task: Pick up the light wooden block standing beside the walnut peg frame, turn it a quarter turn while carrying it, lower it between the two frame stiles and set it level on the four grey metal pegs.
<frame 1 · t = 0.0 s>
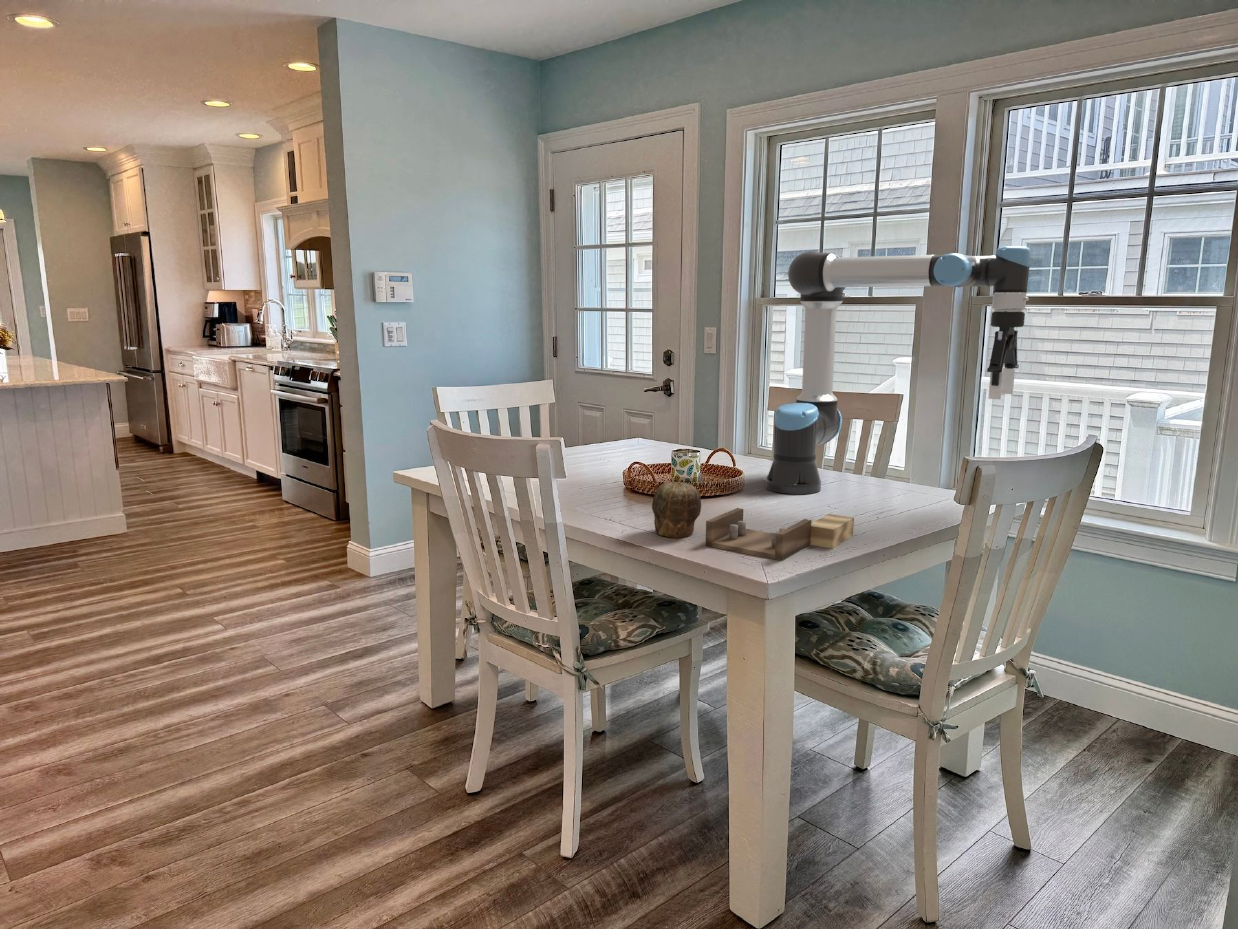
hand: (1000, 396, 210), 28 cm above the table, fingers open, 13 cm apart
peg frame: (758, 545, 180), on the table
light wooden block: (830, 541, 184), on the table
brown ribbed rounded piece: (676, 534, 189), on the table
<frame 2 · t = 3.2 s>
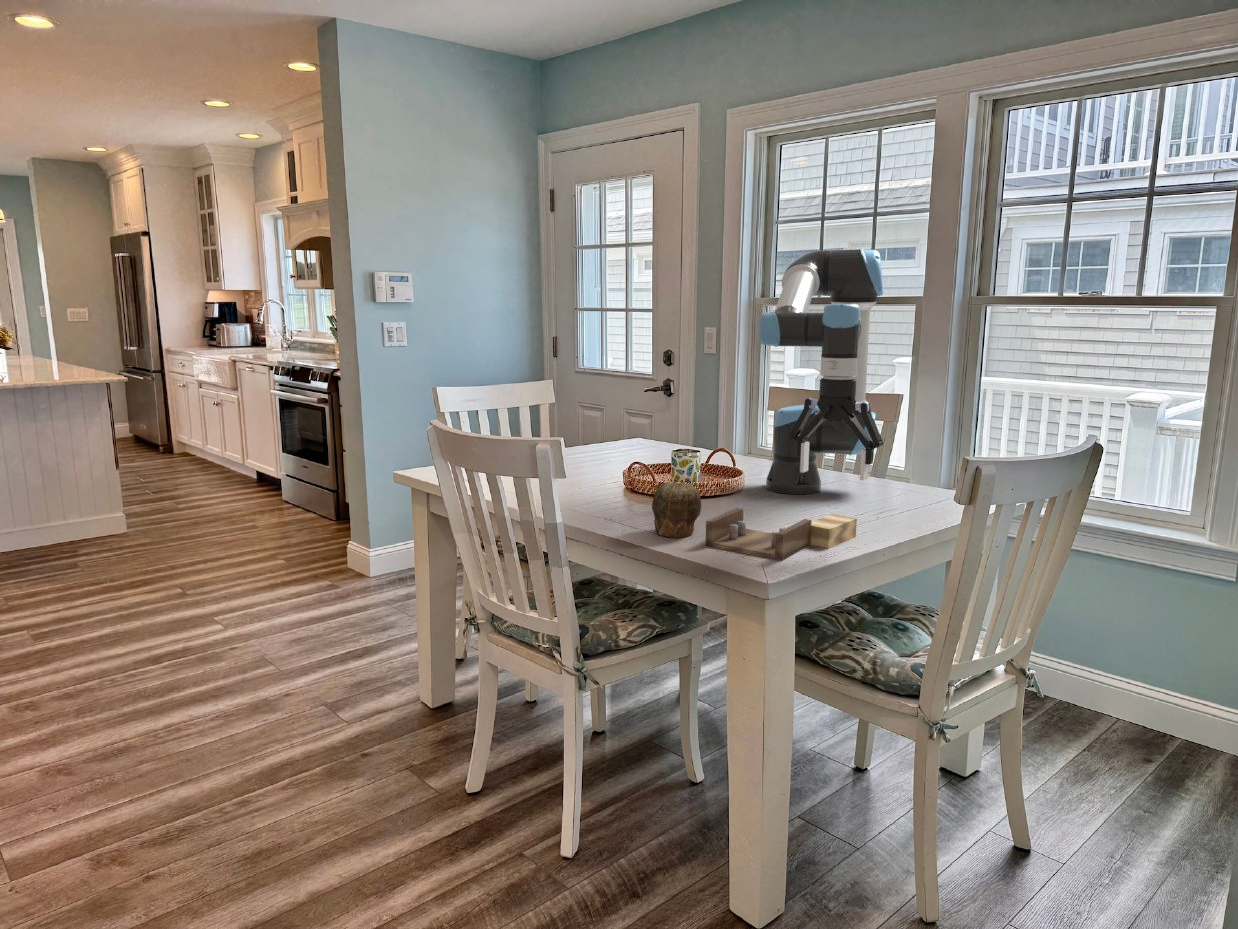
hand: (833, 475, 181), 15 cm above the table, fingers open, 13 cm apart
nothing on the table moved.
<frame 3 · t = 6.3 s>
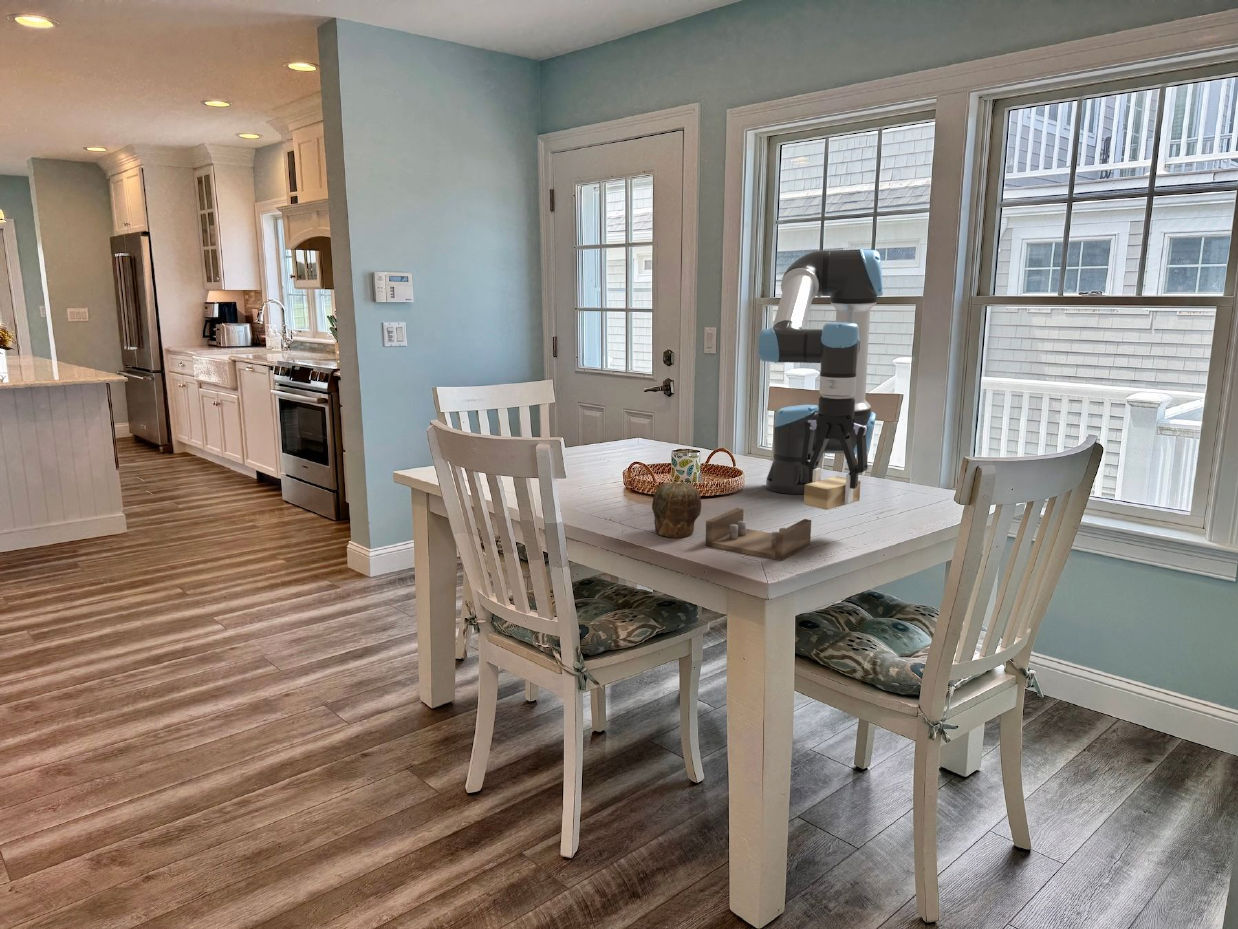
hand: (832, 499, 183), 9 cm above the table, fingers closed on light wooden block, 7 cm apart
light wooden block: (831, 502, 183), point 8 cm above the table, touching gripper
everything else where it was.
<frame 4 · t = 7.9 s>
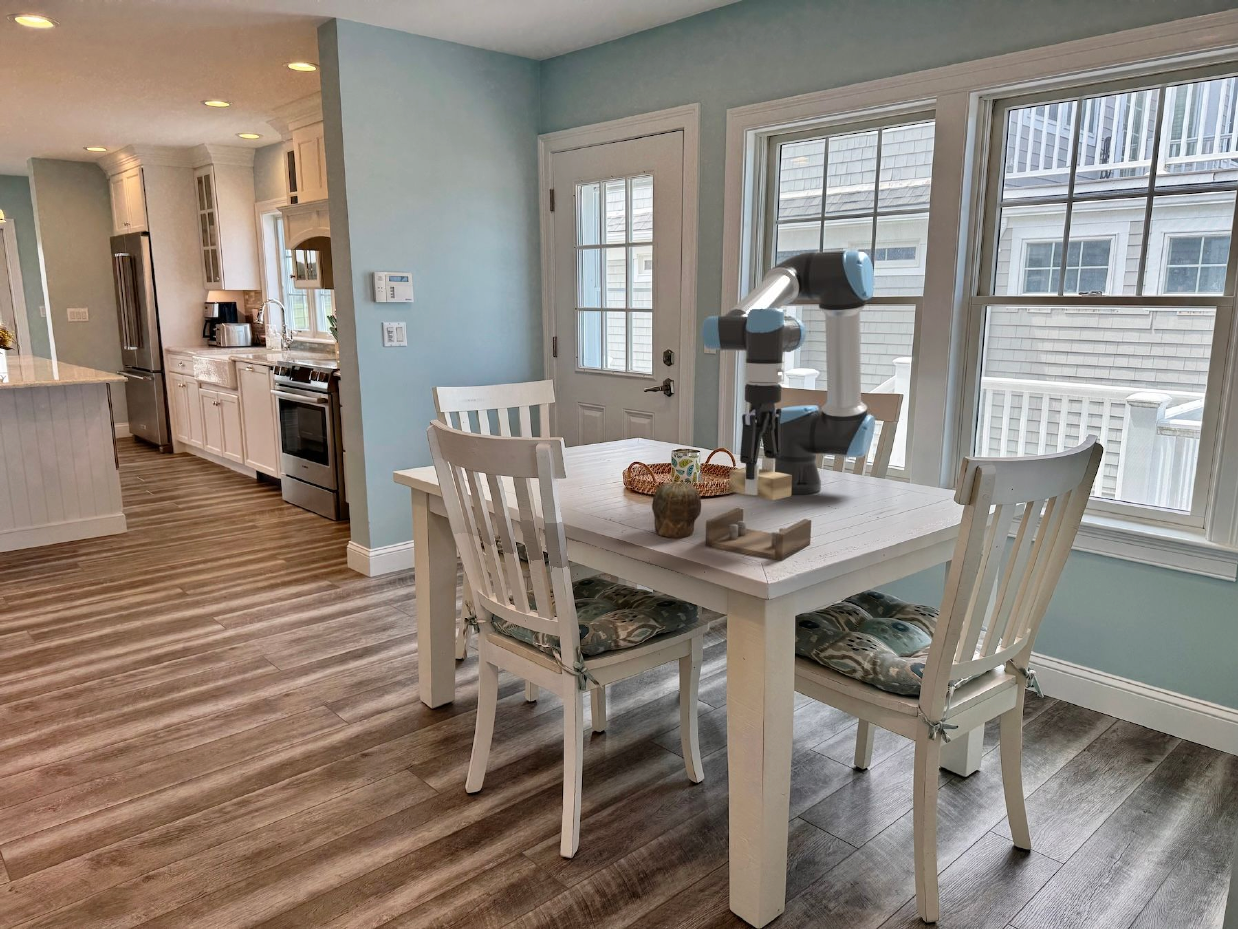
hand: (759, 490, 178), 12 cm above the table, fingers closed on light wooden block, 7 cm apart
light wooden block: (759, 493, 178), point 12 cm above the table, touching gripper
everything else where it was.
when the fingers open (4 cm above the table, at t = 9.6 s): light wooden block stays where it is, resting on peg frame.
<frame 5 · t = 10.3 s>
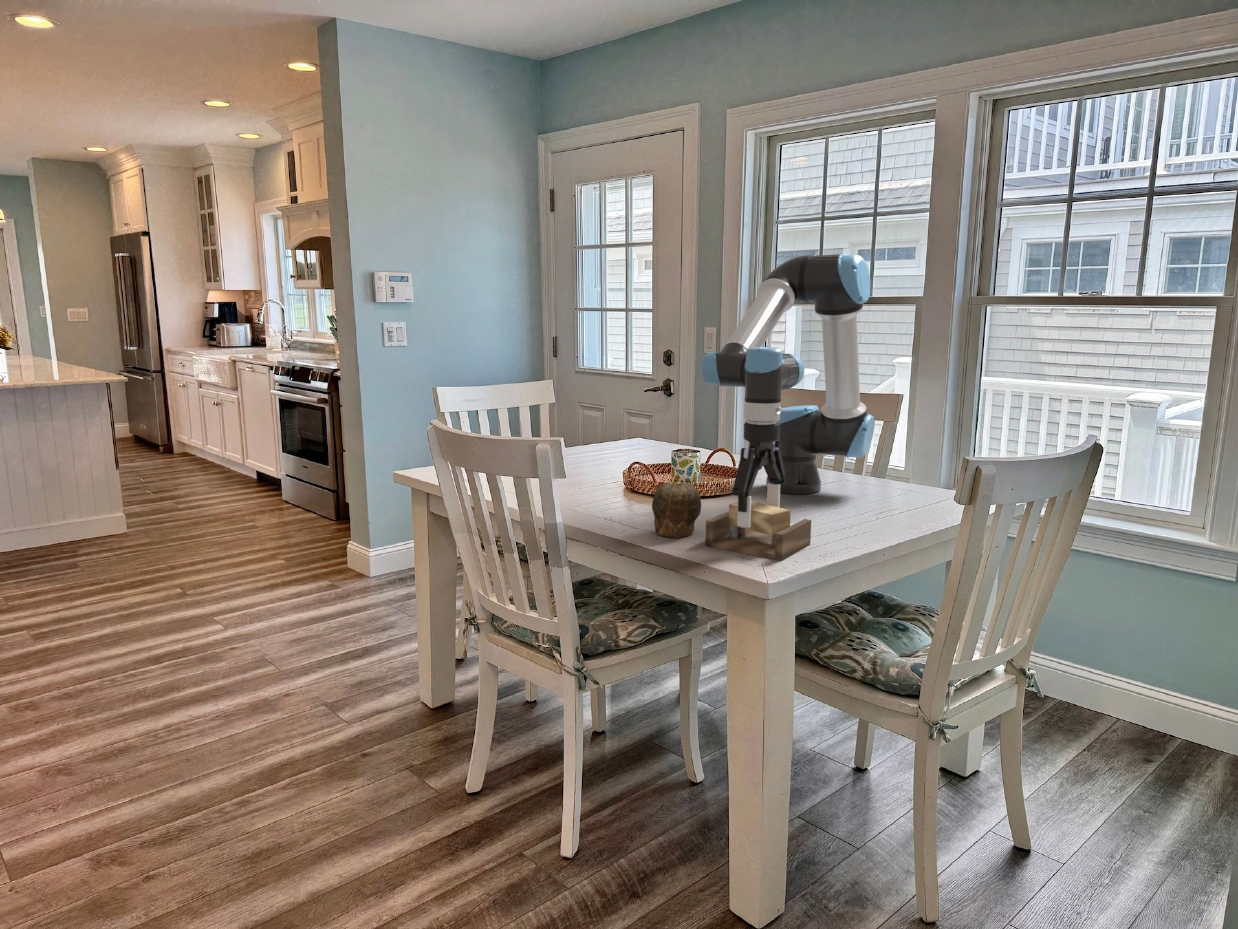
hand: (758, 519, 179), 6 cm above the table, fingers open, 13 cm apart
light wooden block: (758, 527, 179), point 4 cm above the table, touching peg frame
everything else where it was.
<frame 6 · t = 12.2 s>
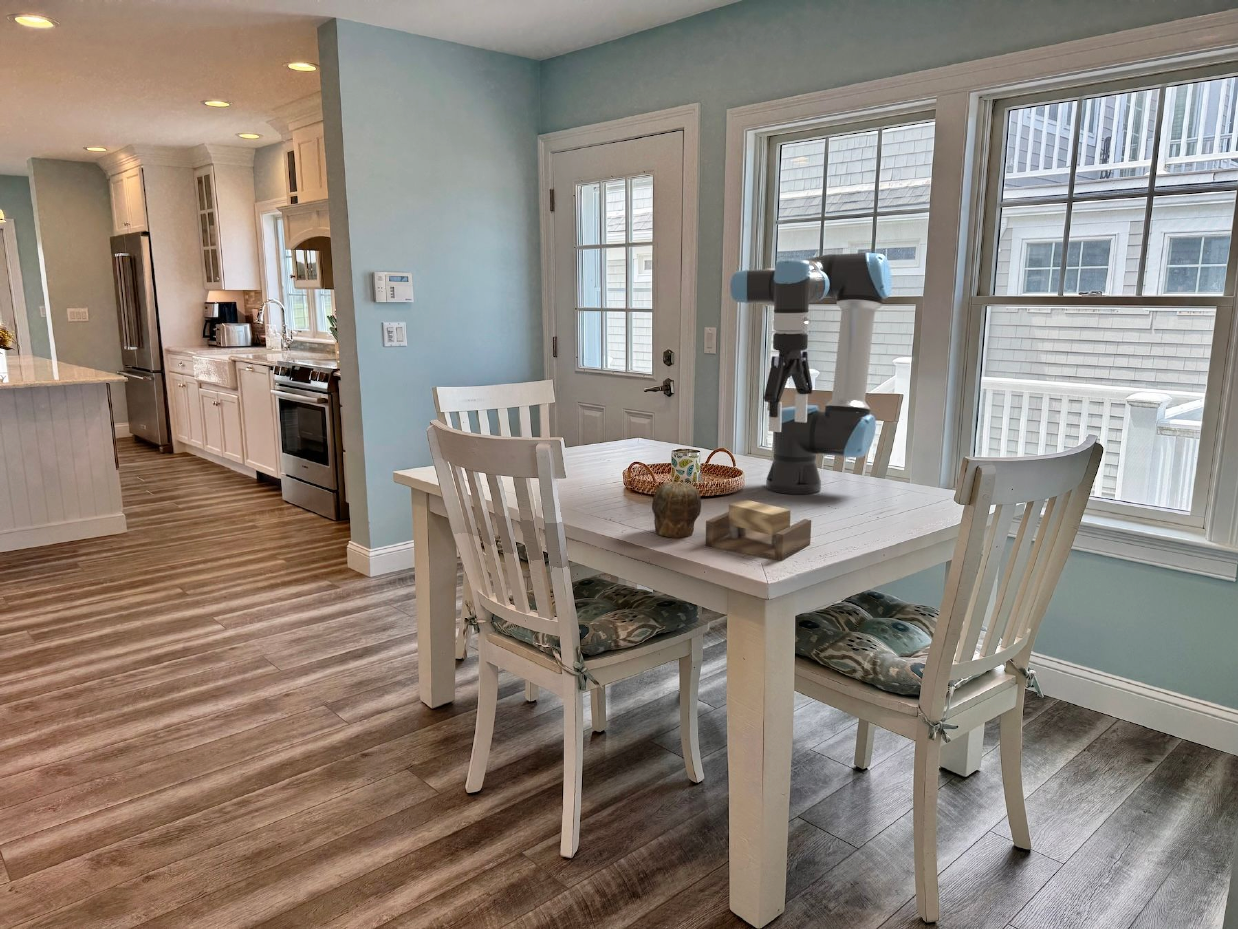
hand: (788, 426, 189), 24 cm above the table, fingers open, 13 cm apart
nothing on the table moved.
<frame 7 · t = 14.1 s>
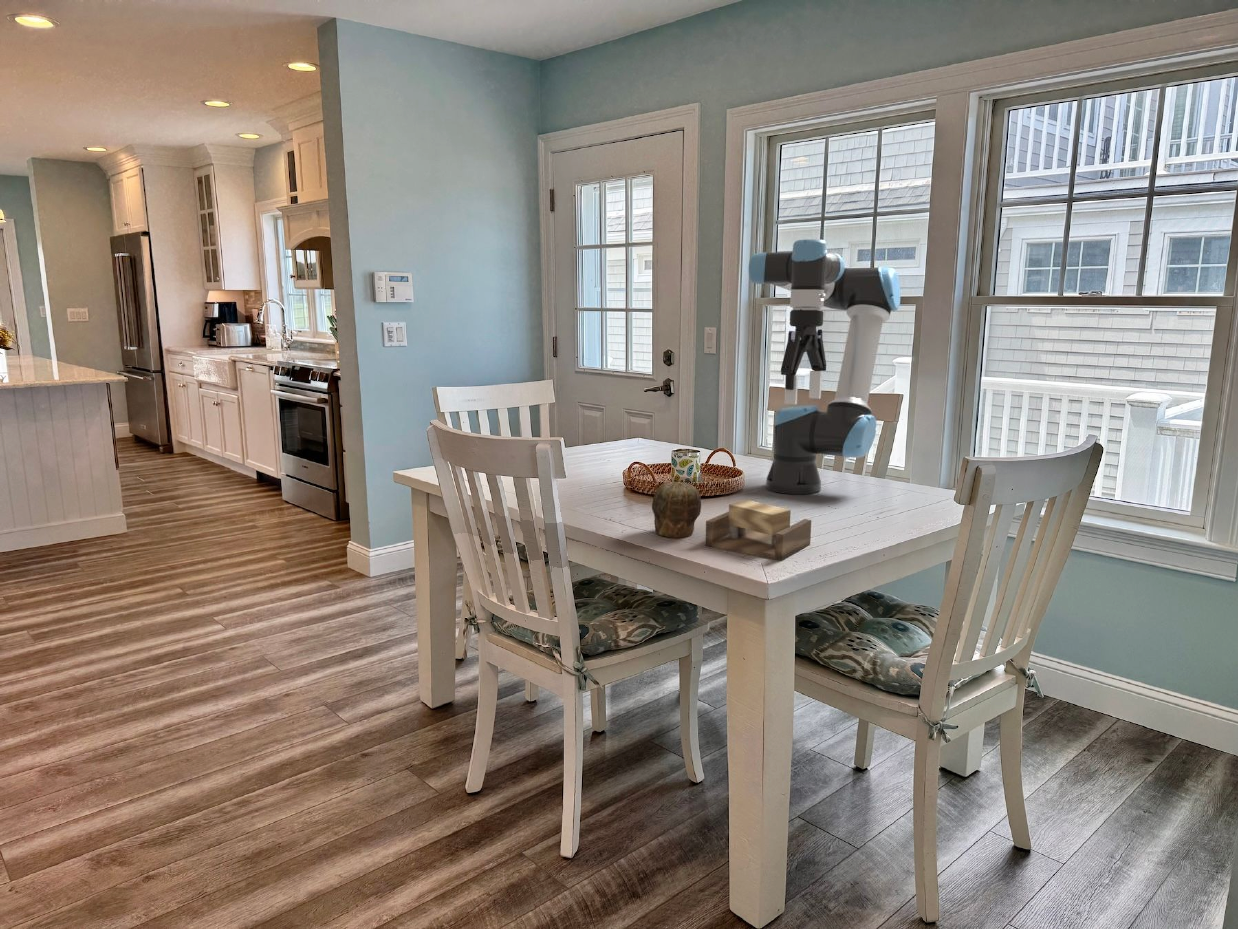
hand: (802, 401, 195), 29 cm above the table, fingers open, 13 cm apart
nothing on the table moved.
at the end: light wooden block 0.1 cm off-centre on the peg frame, point 4.0 cm above the peg frame's base; light wooden block tilted 0°; the gripper is holding nothing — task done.
